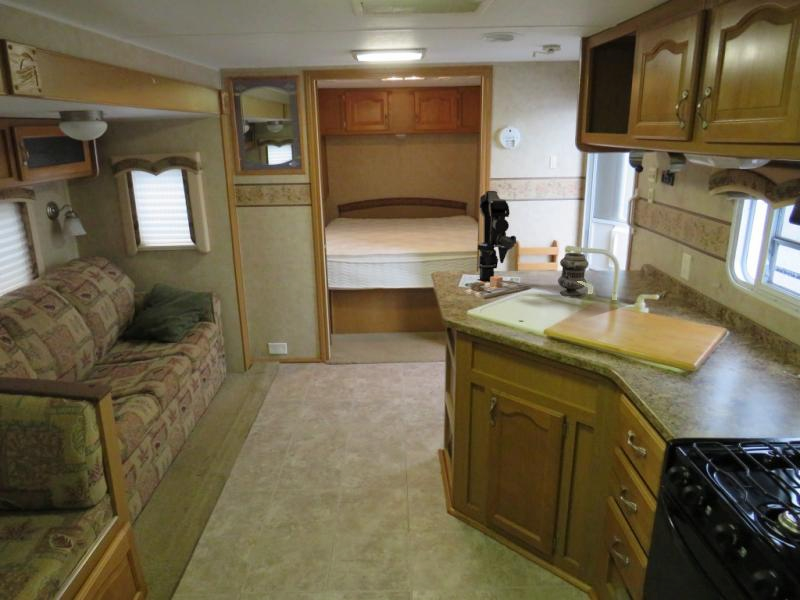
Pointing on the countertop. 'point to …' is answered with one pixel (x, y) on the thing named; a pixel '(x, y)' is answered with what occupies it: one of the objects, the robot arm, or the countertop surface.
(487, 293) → the beam board
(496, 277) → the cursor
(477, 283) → the fixed point
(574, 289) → the apothecary jar
